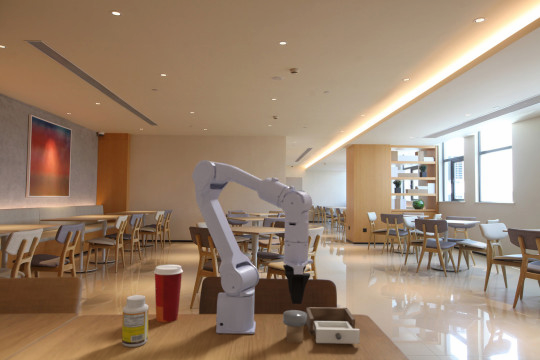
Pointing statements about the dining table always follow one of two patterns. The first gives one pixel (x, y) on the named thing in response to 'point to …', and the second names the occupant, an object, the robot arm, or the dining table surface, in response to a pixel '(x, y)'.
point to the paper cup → (167, 292)
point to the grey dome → (295, 318)
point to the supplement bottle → (135, 321)
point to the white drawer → (336, 332)
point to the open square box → (327, 316)
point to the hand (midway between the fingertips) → (295, 298)
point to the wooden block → (295, 334)
